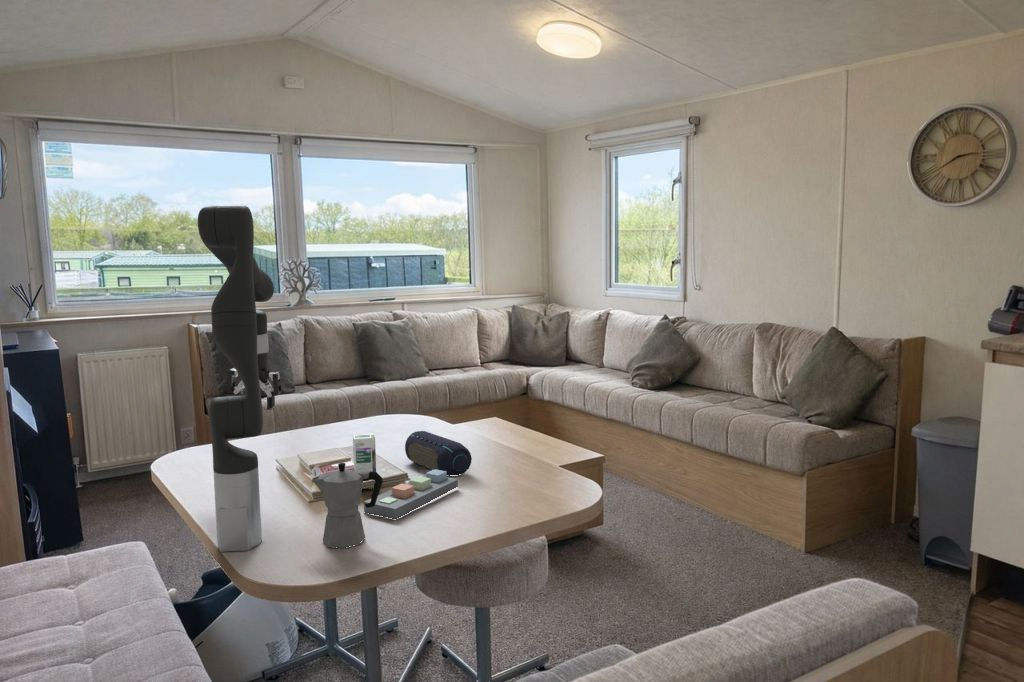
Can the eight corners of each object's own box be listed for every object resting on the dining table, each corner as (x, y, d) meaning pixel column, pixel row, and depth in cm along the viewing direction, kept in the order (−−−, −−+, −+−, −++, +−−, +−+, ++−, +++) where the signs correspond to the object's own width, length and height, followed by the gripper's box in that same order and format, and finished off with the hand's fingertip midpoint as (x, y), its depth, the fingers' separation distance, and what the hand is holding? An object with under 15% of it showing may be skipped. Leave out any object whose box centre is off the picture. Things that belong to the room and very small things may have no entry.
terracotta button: (404, 503, 180) (403, 490, 179) (391, 501, 182) (391, 487, 181) (414, 499, 183) (414, 485, 183) (402, 496, 185) (401, 483, 185)
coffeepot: (312, 551, 155) (309, 471, 152) (315, 535, 164) (312, 458, 162) (384, 546, 158) (382, 466, 155) (383, 529, 167) (381, 454, 165)
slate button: (438, 488, 191) (437, 475, 191) (426, 485, 194) (425, 473, 193) (446, 483, 195) (446, 471, 194) (435, 481, 197) (434, 469, 196)
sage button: (421, 495, 186) (421, 482, 185) (409, 493, 188) (409, 480, 187) (431, 491, 189) (430, 478, 188) (419, 488, 191) (418, 476, 191)
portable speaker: (399, 463, 220) (398, 431, 218) (426, 456, 226) (426, 426, 225) (447, 483, 201) (447, 448, 199) (475, 475, 207) (475, 442, 206)
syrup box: (355, 491, 194) (353, 438, 192) (354, 484, 199) (352, 433, 198) (376, 489, 195) (375, 437, 193) (375, 482, 201) (373, 432, 199)
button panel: (395, 520, 172) (395, 507, 172) (364, 513, 177) (363, 500, 177) (458, 490, 194) (457, 478, 194) (428, 484, 199) (428, 472, 199)
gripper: (221, 350, 188) (223, 410, 191) (273, 354, 186) (274, 414, 189) (235, 344, 195) (236, 402, 198) (285, 348, 193) (286, 406, 197)
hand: (255, 408), depth 194 cm, fingers open, 8 cm apart
